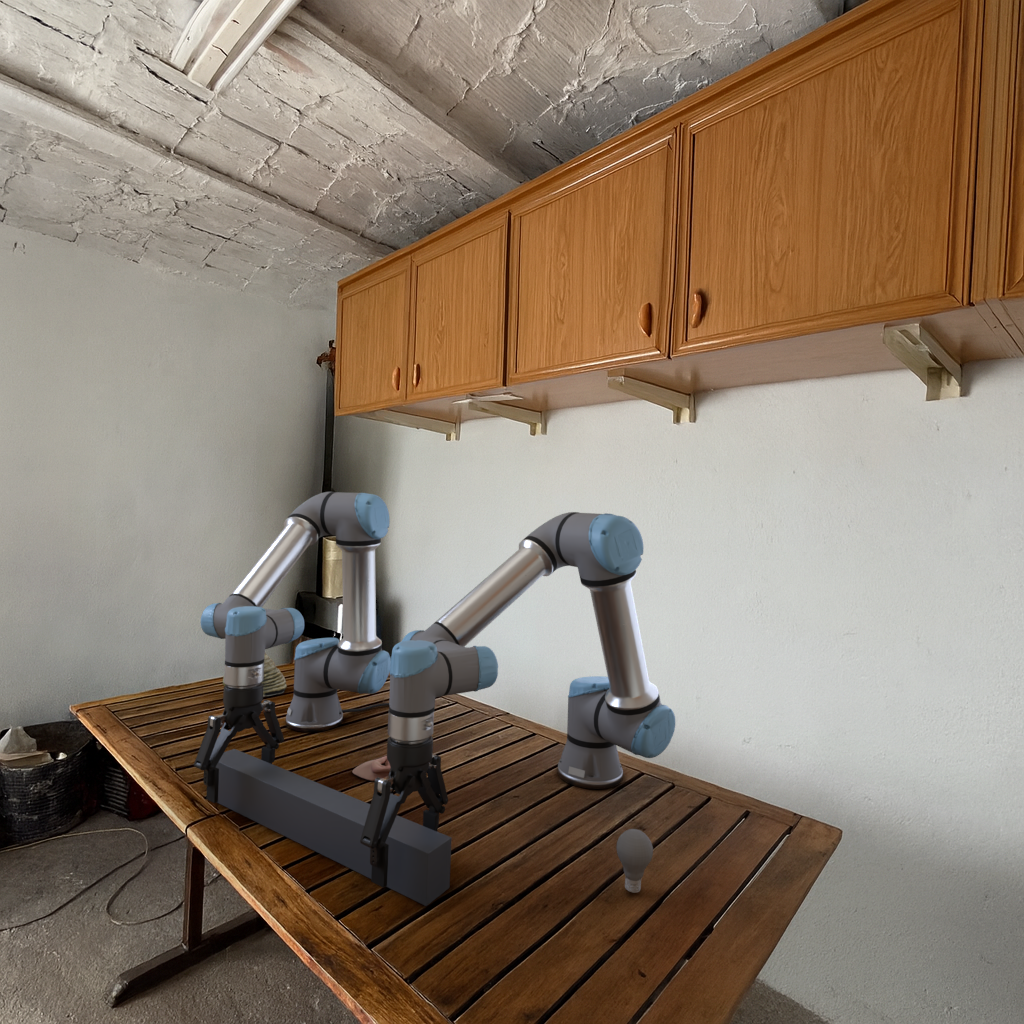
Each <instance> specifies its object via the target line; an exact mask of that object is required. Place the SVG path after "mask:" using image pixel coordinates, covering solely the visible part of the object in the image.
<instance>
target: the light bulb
mask: <svg viewBox="0 0 1024 1024" xmlns="http://www.w3.org/2000/svg"><path fill="white" fill-rule="evenodd" d="M615 849H616V854H617V857H618V859H619V861H620V863H621V865H622V867H623V873H624V874H623V875H624V876H625V878H624V888H625V890H627V891H628V892H630V893H634V894H635V893H639V892H640V891H641V889H642V887H641V886H642V879H643V877H644V875H645V871H646V868H647V867H648V866H649V864H650V863H651V861H652V859H653V855H654V847H653V843H652V841H651V838H649V836H648V835H647V834H646V833H645V832H643V831H642V830H641V829H636V828H629V829H627V830H625V831H623V832H622V833H621V834H620V835H619V837H618V839H617V841H616V847H615Z"/></svg>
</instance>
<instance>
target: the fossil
mask: <svg viewBox="0 0 1024 1024" xmlns="http://www.w3.org/2000/svg"><path fill="white" fill-rule="evenodd" d="M222 676H223V677H222V685H223V688H224V687H225V685H226V684H225V683H224V674H223V675H222ZM261 683H262V684H263V685H264V687H263V698H264V697H271V696H275V695H281V694H284V693H285V691H286V689H287V687H288V686H287V680H286V678H285V676H284V674H283V673H282V672H281V669H279V668H278V667H277V665H276V663H275V662H274V660H273V659H272V658H271V657H270V656H269V655H268V654H267V653H266V652H265V658H264V680H263V681H262V682H261Z"/></svg>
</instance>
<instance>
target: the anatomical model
mask: <svg viewBox="0 0 1024 1024" xmlns="http://www.w3.org/2000/svg"><path fill="white" fill-rule="evenodd" d="M390 768H391V767H390V764H389V761H388V760H387V755H384V756H381V757H378V758H376V759H371V760H368V761H365V762H362V763H361V764H359V765H358V766H356V767H355V768H353V770H352V774H353V775H354V776H357V777H359V778H361V779H364V780H367V781H372V782H373V781H374V782H375V779H376V778H377V777H379V778H382V779H383V778H386V777H388V775H389V772H390Z"/></svg>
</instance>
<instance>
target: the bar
mask: <svg viewBox="0 0 1024 1024" xmlns="http://www.w3.org/2000/svg"><path fill="white" fill-rule="evenodd" d="M216 768H218V769H219V786H218V802H216V803H217V804H218V805H221V806H223V807H225V808H227V809H229V810H231V811H233V812H235V813H237V814H239V815H241V816H243V817H246V818H247V819H249V820H250V821H254V822H255V823H257V824H259V825H261V826H264V827H265V828H267V829H269V830H271V831H273V832H275V833H277V834H280V835H281V836H284V837H285V838H287V839H289V840H291V841H293V842H295V843H297V844H300V845H302V846H303V847H306V848H307V849H310V850H312V851H314V852H316V853H318V854H320V855H322V856H323V857H325V858H328V859H330V860H333V861H334V862H335V863H338V864H340V865H342V866H344V867H346V868H348V869H350V870H352V871H354V872H356V873H358V874H360V875H362V876H364V877H366V878H368V879H370V880H371V874H372V865H371V864H370V847H367V846H365V845H363V844H361V843H360V839H361V836H362V832H363V829H364V825H365V822H366V818H367V815H368V811H369V808H370V804H371V803H368V802H365V801H363V800H361V799H359V798H356V797H354V796H351V795H349V794H346V793H344V792H341V791H340V790H336V789H334V788H332V787H329V786H328V785H327V786H326V785H324V784H321V783H320V782H316V781H314V780H312V779H309V778H308V777H304V776H302V775H301V774H300V775H299V774H298V773H295V772H292V771H290V770H289V769H288V770H287V769H285V768H282V767H280V766H278V765H276V764H273V763H272V764H270V763H268V762H265V761H263V760H261V758H258V757H255V756H253V755H251V754H249V753H246V752H244V751H241V750H238V749H236V748H233V749H230V750H227V751H226V750H225V751H224V753H223V755H222V757H221V758H220V760H219V762H218V764H217V765H216ZM379 838H380V835H379ZM452 838H453V837H451V836H449V835H447V834H443V833H441V832H439V831H438V830H437V831H434V830H432V829H429V828H427V827H425V826H423V824H419V823H417V822H415V821H412V820H410V819H407V818H405V817H402V816H400V815H398V814H397V816H396V818H395V820H394V823H393V825H392V828H391V830H390V832H389V835H388V837H387V839H386V842H385V843H386V844H388V845H389V848H388V872H387V886H385V888H388V889H390V890H392V891H394V892H395V893H398V894H400V895H402V896H404V897H406V898H409V899H411V900H412V901H415V902H417V903H418V904H421V905H423V906H424V907H427V906H429V905H431V903H433V902H434V901H435V900H436V899H437V898H438V897H440V896H441V895H443V894H444V893H445V892H446V891H448V890H449V889H450V888H451V887H450V884H451V863H452V862H451V861H452Z"/></svg>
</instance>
